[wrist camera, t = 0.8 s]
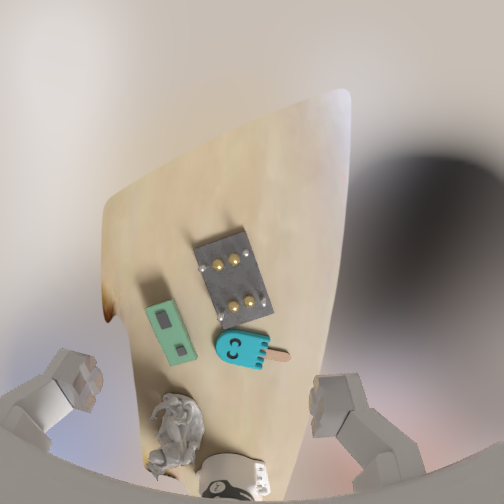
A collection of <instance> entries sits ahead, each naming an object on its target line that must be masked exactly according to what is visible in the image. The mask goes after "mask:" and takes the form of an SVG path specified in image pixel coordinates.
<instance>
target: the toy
mask: <svg viewBox="0 0 504 504" xmlns="http://www.w3.org/2000/svg"><path fill="white" fill-rule="evenodd" d="M263 342H270V337H269V336H265V335H260V334H255V333H250V332H246V331H241V330H235V329H232V330H227V331H224V332H223V333H221V334H220V336H219V337H218V339H217V341H216V352H217V355H218V356H219V357H220V358H221V359H222V360H223V361H225V362H227V363H231V364H235V365H239V366H244V367H249V368H254V369H259V370H261V369H262V364H260V363H263V362H264V358H266V359H271V360H277V361H282V362H287V361H289V360H290V359H291V356H290V355H289V353H286V352H281V351H276V350H271V349H267V348H268V344H267V343H263Z"/></svg>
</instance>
